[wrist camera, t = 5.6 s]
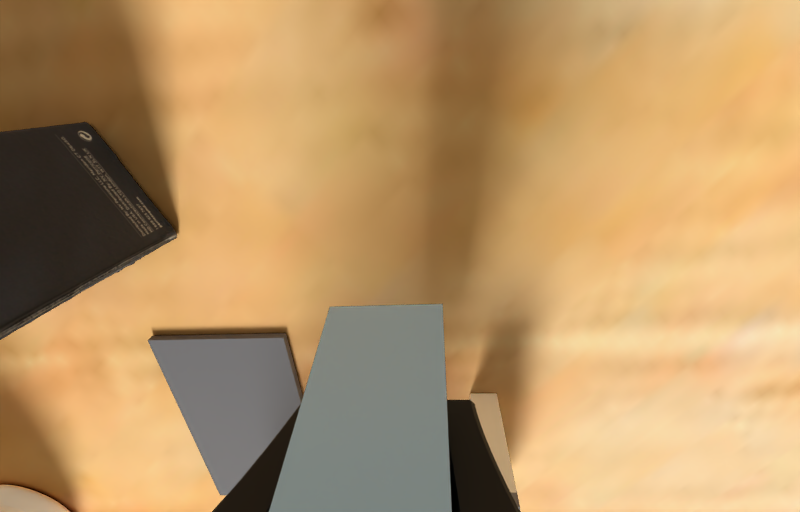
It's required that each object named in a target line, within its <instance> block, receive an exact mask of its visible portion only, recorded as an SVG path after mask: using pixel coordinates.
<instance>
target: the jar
mask: <svg viewBox="0 0 800 512" xmlns="http://www.w3.org/2000/svg"><path fill="white" fill-rule="evenodd" d="M0 512H70V511H69V510H68V509H67V508H66V507H64V506H63V505H61V504H60V503H59V502H57V501H55V500H53V499H52V498H50V497H48V496H46V495H44V494H41V493H39V492H37V491H34V490H31V489H28V488H24V487H20V486H14V485H0Z"/></svg>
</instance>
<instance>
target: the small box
mask: <svg viewBox="0 0 800 512" xmlns="http://www.w3.org/2000/svg"><path fill="white" fill-rule="evenodd" d="M176 238H177V233H176V231H175V230H174V229H173V227H172V225H171V224H170V223H169V222H168V221H167V220H166V219H165V218H164V217H163V215H162V214H161V213H160V212H159V210H158V208H156V207H155V205H154V204H153V203H152V202H151V200H150V199H149V198H148V197H147V196H146V194H145V193H144V192H143V190H142V189H141V188H140V187H139V185H138V184H137V183H136V181H135V180H134V179H133V178H132V176H131V175H130V174H129V172H128V171H127V170H126V169H125V167H124V166H123V165H122V164H121V162H120V161H119V160H118V158H117V156H116V154H114V153H113V151H112V150H111V149H110V148H109V147H108V146H107V144H106V143H105V142H104V141H103V139H102V138H101V137H100V136H99V135H98V134H97V132H96V131H95V130H94V129H93V128H92V127H91V126H90V125H89V124H88V123H87V122H82V123H75V124H66V125H57V126H49V127H40V128H31V129H23V130H14V131H5V132H0V340H1V339H3V338H4V337H6V336H8V335H9V334H11V333H12V332H14V331H16V330H17V329H19V328H21V327H23V326H25V325H26V324H28V323H30V322H32V321H33V320H35V319H36V318H38V317H40V316H41V315H43V314H45V313H47V312H49V311H50V310H52V309H53V308H55V307H57V306H59V305H60V304H62V303H64V302H66V301H68V300H70V299H71V298H73V297H74V296H76V295H77V294H79V293H81V292H82V291H84V290H86V289H88V288H89V287H91V286H93V285H95V284H96V283H98V282H100V281H102V280H104V279H105V278H107V277H109V276H111V275H113V274H114V273H116V272H119V271H120V270H122V269H123V268H125V267H127V266H129V265H132V264H134V263H135V261H137V260H139V259H141V258H142V257H144V256H145V255H148V254H149V253H151V252H153V251H154V250H156V249H158V248H159V247H161V246H162V245H164V244H166V243H168V242H170V241H171V240H174V239H176Z"/></svg>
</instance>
